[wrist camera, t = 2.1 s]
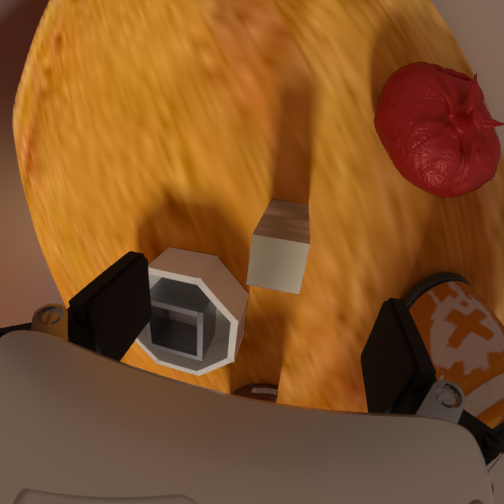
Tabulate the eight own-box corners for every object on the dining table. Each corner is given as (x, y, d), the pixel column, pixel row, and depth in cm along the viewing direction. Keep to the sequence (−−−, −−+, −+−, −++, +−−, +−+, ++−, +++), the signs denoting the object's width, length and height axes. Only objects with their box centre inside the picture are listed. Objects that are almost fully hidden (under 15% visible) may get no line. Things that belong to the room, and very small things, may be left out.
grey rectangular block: (308, 205, 23) (309, 244, 14) (302, 239, 24) (299, 294, 16) (271, 199, 23) (252, 234, 15) (267, 233, 24) (246, 284, 16)
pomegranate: (422, 210, 21) (476, 251, 12) (341, 122, 20) (366, 111, 11) (486, 137, 17) (553, 147, 9) (413, 49, 16) (463, 12, 7)
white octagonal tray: (253, 261, 25) (243, 286, 21) (241, 355, 30) (232, 384, 26) (140, 240, 27) (115, 258, 23) (147, 330, 31) (129, 354, 27)
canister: (465, 255, 21) (588, 410, 3) (470, 337, 24) (534, 478, 6) (385, 290, 24) (450, 501, 6) (404, 366, 27) (436, 527, 9)
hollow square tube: (217, 287, 26) (203, 313, 22) (214, 334, 28) (202, 361, 25) (162, 275, 27) (142, 297, 23) (165, 321, 29) (147, 345, 25)
